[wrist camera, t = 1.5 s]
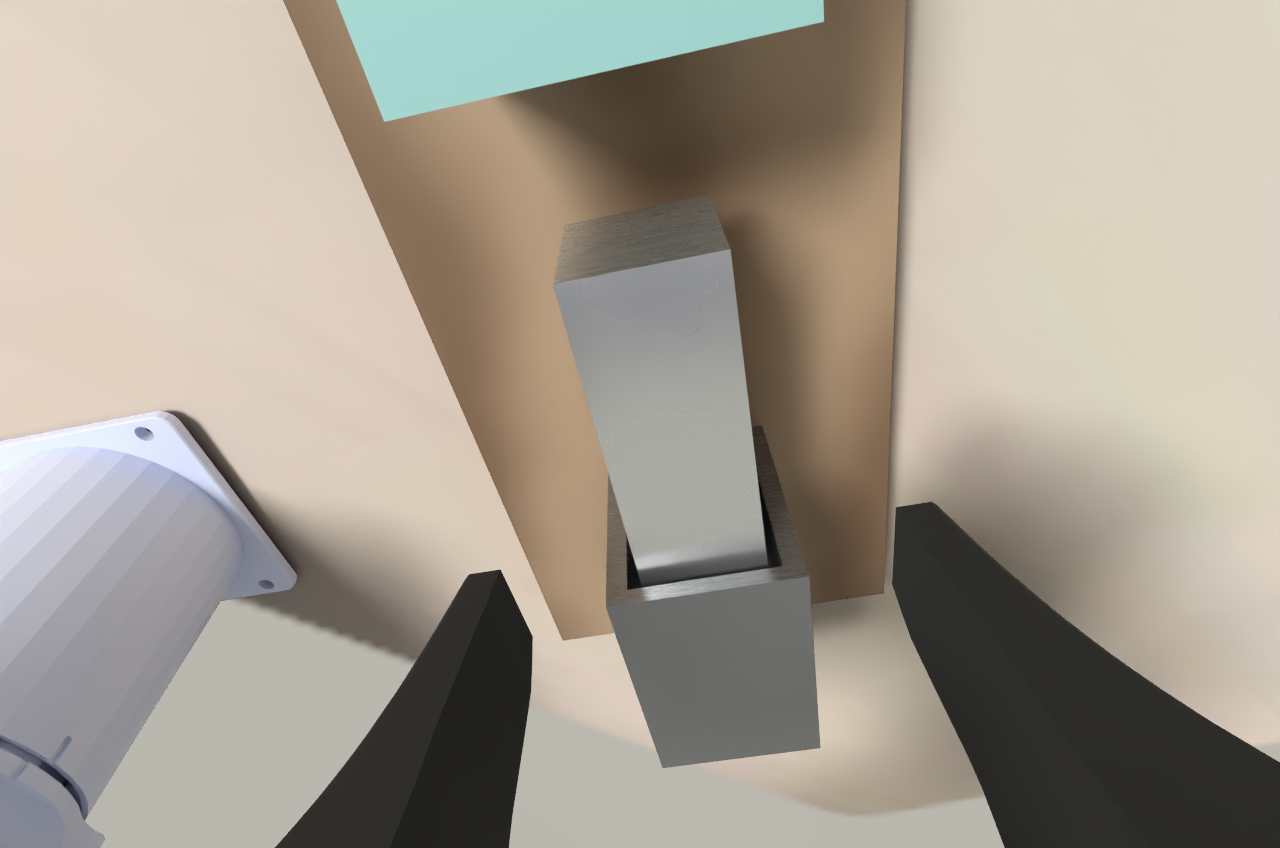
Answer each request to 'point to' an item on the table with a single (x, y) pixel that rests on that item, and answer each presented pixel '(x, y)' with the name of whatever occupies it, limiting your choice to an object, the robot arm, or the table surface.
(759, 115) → the walnut board
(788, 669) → the grey sleeve
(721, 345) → the grey rectangular bar
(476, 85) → the teal socket block
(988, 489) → the table surface
